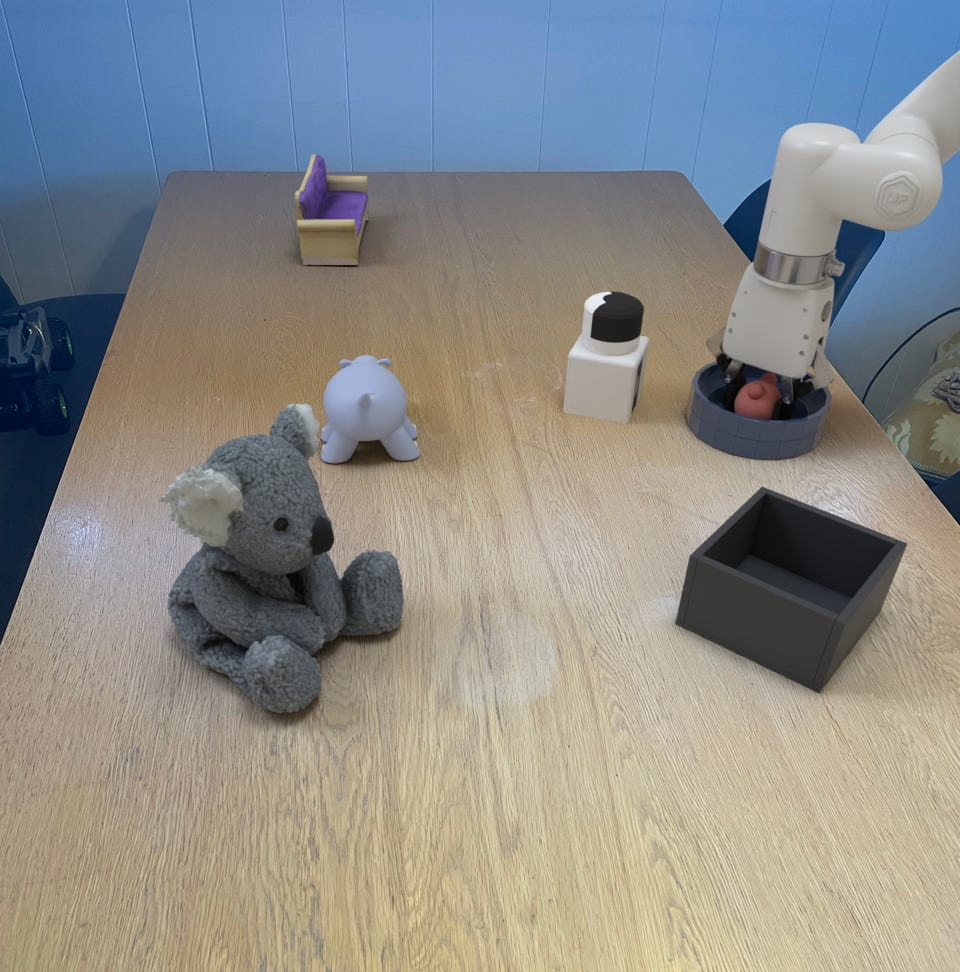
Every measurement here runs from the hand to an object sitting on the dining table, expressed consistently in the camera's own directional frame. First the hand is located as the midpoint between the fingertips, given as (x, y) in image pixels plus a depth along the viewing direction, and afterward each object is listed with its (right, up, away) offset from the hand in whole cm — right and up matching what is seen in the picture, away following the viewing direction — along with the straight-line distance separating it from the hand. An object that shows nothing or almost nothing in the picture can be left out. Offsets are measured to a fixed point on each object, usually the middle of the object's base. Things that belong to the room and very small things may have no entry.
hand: (754, 419), depth 110 cm
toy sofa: (-54, +37, +41) cm, 77 cm away
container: (-17, +2, +4) cm, 18 cm away
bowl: (0, -1, +1) cm, 1 cm away
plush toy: (0, 0, 0) cm, 1 cm away
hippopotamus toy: (-44, -3, -3) cm, 44 cm away
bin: (-5, -23, -24) cm, 34 cm away
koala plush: (-49, -25, -27) cm, 61 cm away
